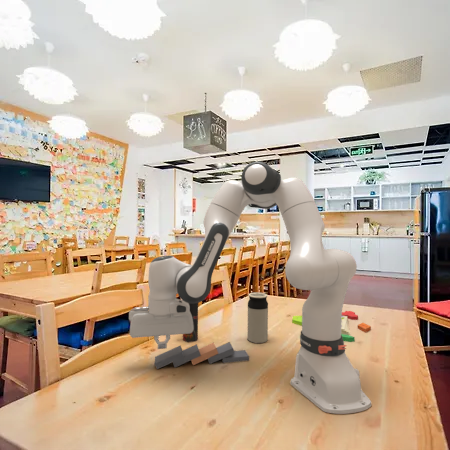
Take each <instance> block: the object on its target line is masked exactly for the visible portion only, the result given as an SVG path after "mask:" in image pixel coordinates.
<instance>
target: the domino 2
mask: <svg viewBox="0 0 450 450" xmlns="http://www.w3.org/2000/svg"><path fill="white" fill-rule="evenodd" d="M199 349H200V348H199V345H198V344H193V345H192V346H190V347H187V348H185V349H182V350H183V356H184V357H183V358H181V359H179V360H176V361H174V362H172V364H173V367H174V368H177V367H180V366H181V365H183V364H186V363H188V362H190V361H191V360H193V359H195V358H197V357H199V356H201V355H200V352H199Z"/></svg>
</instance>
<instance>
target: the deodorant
mask: <svg viewBox="0 0 450 450" xmlns="http://www.w3.org/2000/svg"><path fill="white" fill-rule="evenodd" d="M188 304H189V306H190V310H189V311H190V313H191V315H192V319H193V328H194V329H193V332H192V333H190V334H182V341H183V342H186V343H193V342H194V343H195V342H196V341H198V340H199V336H198V335H199V303H195V304H190V303H188Z"/></svg>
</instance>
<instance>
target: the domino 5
mask: <svg viewBox="0 0 450 450" xmlns="http://www.w3.org/2000/svg"><path fill="white" fill-rule="evenodd" d="M234 352H235V354H232V355H230V356H228V357H225V358H223V359H221V362H222V363H223V364H224V363H235V362H237V363H238V362H246V361H247V362H248V361H250V356H249V354H248V352H247V351H246V350H245V349H244V350H243V349H242V350H234Z"/></svg>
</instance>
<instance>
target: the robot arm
mask: <svg viewBox="0 0 450 450" xmlns="http://www.w3.org/2000/svg"><path fill="white" fill-rule="evenodd" d="M240 176H241V178H240V180H241V181H238V180H236V179H229V180H226V181H224V183H223V184H222V185H221V186H220V188H218V190H217V191H216V193H215V194H214V196H213V198H212V200H211V201H210V203H209V205H208V207H207V209H206V212H205V215H204V218H203V228H204V239H203V242H202V246H201V247H200V249H199V252H198V254H197V256H196V257H195V258H196V259H194V262H193V264H190V263H186V262H184V261H181V260H179V259H177V258H176V257H175V256H174V255H170V254H169V255H161V256H158V257H156V258H154V259H152V260H151V262H150V264H149V267H148V281H147V283H148V284H147V285H148V287H149V294H148V298H147V299H148V300H147V301H148V304H147V305H148V306H141V307H138V306H136V307H133V308H132V309H130V310H129V312H128V320H129V321H130V326H129V336H130V337H131V338H132V339H134V338H135V339H136V338H145V337H148V338H149V337H153V338H154V339H153V340H154V341H155V343H156V344H157V350H162V349H167V348H168V343H169V341H170V339H171V336H172V335H173V336H175V335H183V334H190V333H192V332H193V329H194V328H193V319H192V315H191V313H190V311H189V310H190V306H189V304H188V303H190V304H195V303H198V304H199V303H201V302H203V301H204V300H206V299H207V297H208V296H209V294H210V292H211V288H212V277H213V273H214V270H215V268H216V266H217V264H218V261H219V259H220V258H221V257H220V256H221V254H222V252H223V250H224V248H225V245H226V243H227V242H228V239H229V237H230V235H231V234H232V232H233V231H234V228H235V227H236V225H237V224H238V222H239V220H240V217H241V215H242V213H243V211H244V210H245V208H246V207H247V206H249V207H250V208H253V209H255V208H256V209H257V208H258V209H263V210H269V209H272V208H274V207H276V206H277V208H278V210H279V212H280V215H281V217H282V220H283V223H284V226H285V229H286V231H287V234H288V238H289V242H290V252H289V253H290V255H289V257H288V259H287V261H286V263H285V268H284V272H285V277H286V279H287V281H288V283H289V284H290V285H291V286H292V287H294V288H295V289H298V290H303V291H304V290H305V291H310V293H309V295H308V297H307V299H305V301H304V303H303V305H302V309H301V316H302V326H301V331H300V335H299V340H300V341H299V344H300V349H299V350H298V352H297V353H296V356H295V357H296V358H295V363H294V364H295V367H294V374H293V375H294V376H293V377H291V379H290V381H289V384H290V386H292V387H293V388H294V389H296V390H297V391H298V392H299V393H301V394H302V395H303V396H304V397H305V398H307V399H308V400H309V401H310V402H312V403H313V404H314V405H315V406H316V407H318V408H319V409H320V410H321V411H323V412H325V413H329V414H335V415H336V414H337V415H343V414H345V415H346V414H353V413H359V412H363V411H366V410H367V409H370V408H371V406H372V400H370V398H369V397H368V396H367V394H366V393H365V392H364V391H363V390H362V385H361V383H362V382H361V379H360V371H359V369H358V368H354V366H353V364H352V362H351V361H350V359H349V357H348V356H347V354H346V350H347V348H346V347H347V345H346V344H345V341H343V337H342V335H341V321H342V312H343V306H344V302H345V298H346V296H347V291H348V288H349V285H350V284H351V283H350V282H351V281H352V279H353V277H354V276H355V275H356V272H357V267H358V266H357V262H356V259H355V257H354V256H353V255H352V253H349V252H348V251H346V250H342V249H338V248H324V243H323V238H322V235H323V233H324V231H325V227H326V226H325V223H324V220H323V218H322V215H321V213H320V211H319V209H318V205H317V204H316V202H315V199H314V197H313V196H312V193H311V192H310V190H309V189H308V186H307V185H306V184H305V182H304V181H303V180H302V179H300V178H299V177H295V176H294V177H287V178H285V179H282V176H281V173H280V172H278V171H276V170H275V169H274V168H272V167H271V166H270V165H269V164H267V163H265V162H263V161H253V162H250V163H248V164H247V165H246V166H244V169H243V170H242V171H241V175H240ZM177 295H178V296H179V298H180V299H179V298H177ZM162 336H163V337H164V336H165V339H164V341H160V340H159V337H162Z"/></svg>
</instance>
